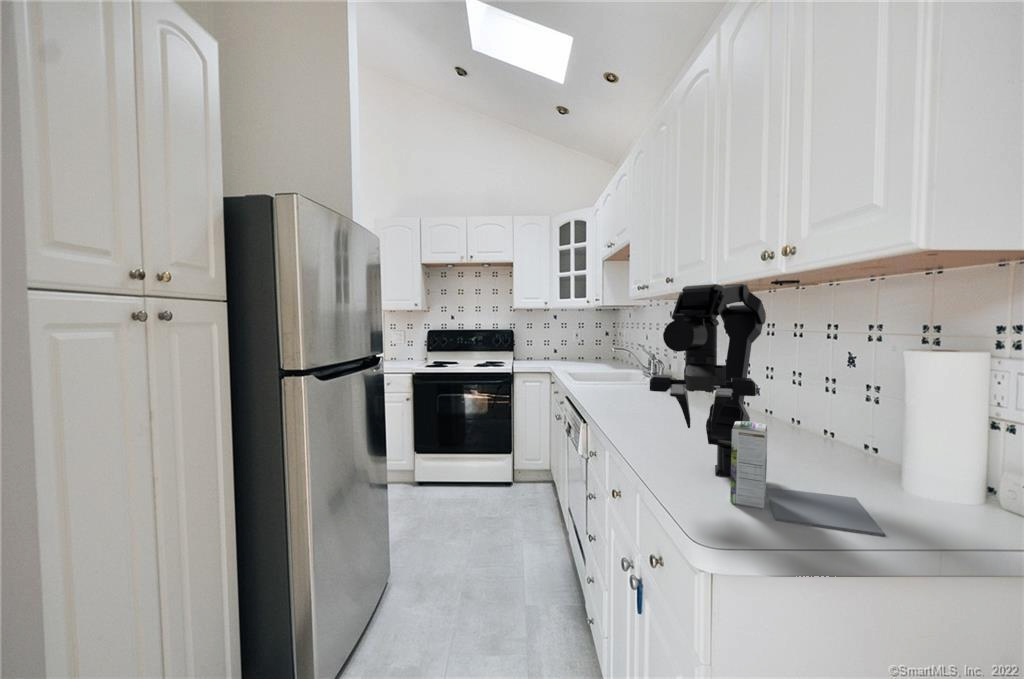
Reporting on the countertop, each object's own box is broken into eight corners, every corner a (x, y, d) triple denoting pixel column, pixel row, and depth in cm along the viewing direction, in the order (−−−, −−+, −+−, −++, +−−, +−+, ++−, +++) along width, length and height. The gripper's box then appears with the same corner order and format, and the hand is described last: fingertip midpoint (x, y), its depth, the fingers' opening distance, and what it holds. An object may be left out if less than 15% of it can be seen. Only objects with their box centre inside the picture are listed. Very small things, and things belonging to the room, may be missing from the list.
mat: (765, 488, 92) (765, 486, 92) (855, 499, 86) (855, 497, 86) (775, 520, 77) (775, 517, 77) (885, 536, 71) (885, 533, 71)
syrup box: (732, 492, 89) (732, 419, 88) (767, 497, 86) (767, 423, 85) (730, 503, 84) (730, 427, 83) (766, 510, 81) (767, 431, 80)
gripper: (645, 350, 85) (645, 433, 85) (758, 352, 77) (758, 443, 78) (653, 347, 95) (653, 421, 95) (753, 349, 87) (752, 429, 88)
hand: (700, 428), depth 89 cm, fingers open, 4 cm apart
